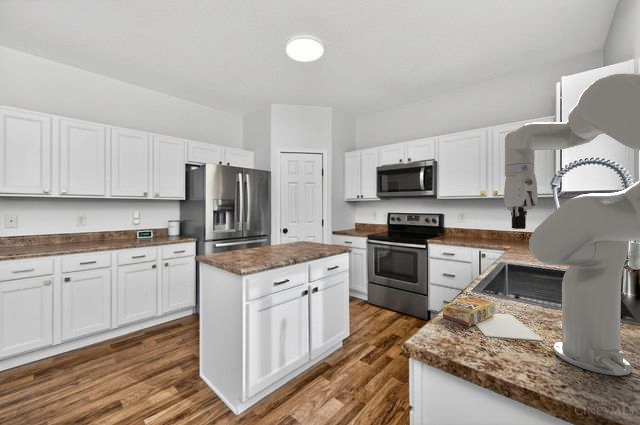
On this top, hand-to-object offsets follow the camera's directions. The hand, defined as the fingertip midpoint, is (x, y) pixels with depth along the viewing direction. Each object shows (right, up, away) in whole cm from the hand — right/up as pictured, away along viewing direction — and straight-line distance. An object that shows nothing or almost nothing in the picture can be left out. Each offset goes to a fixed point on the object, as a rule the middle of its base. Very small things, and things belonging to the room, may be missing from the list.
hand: (518, 228), depth 85 cm
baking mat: (-9, -29, -4) cm, 31 cm away
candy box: (-8, -26, +6) cm, 28 cm away
